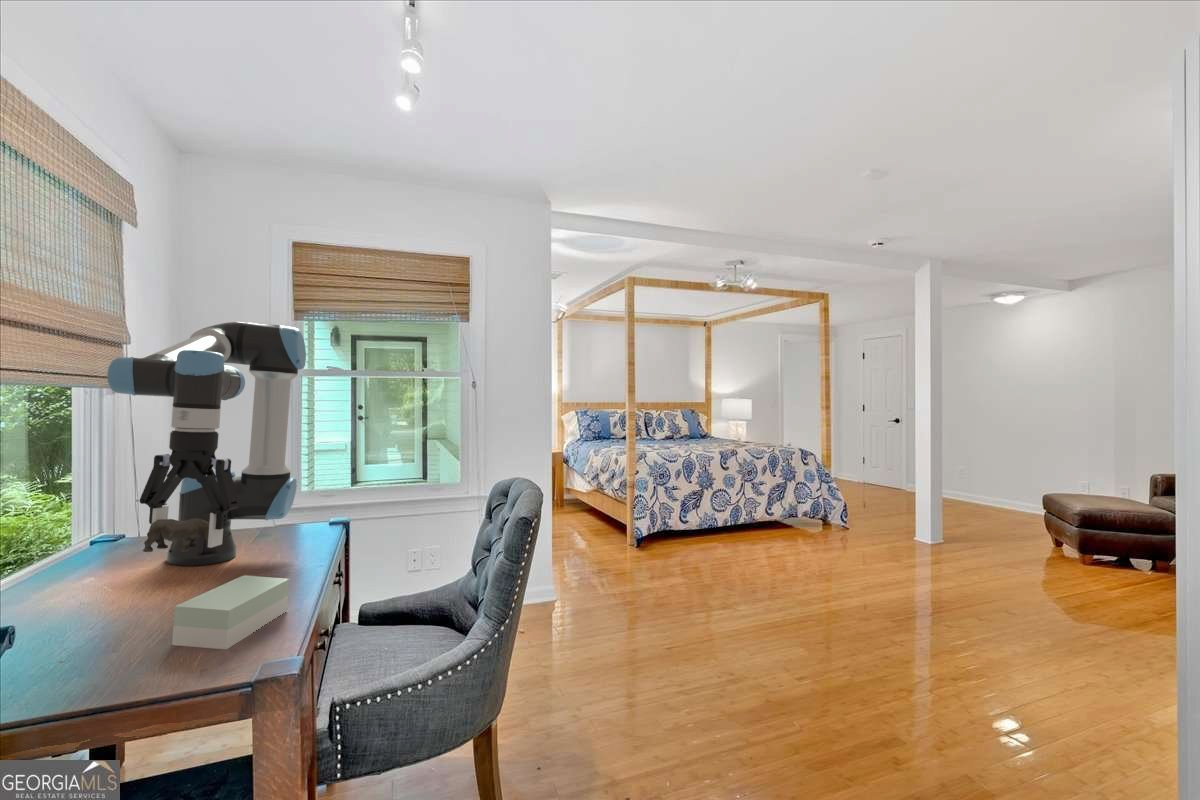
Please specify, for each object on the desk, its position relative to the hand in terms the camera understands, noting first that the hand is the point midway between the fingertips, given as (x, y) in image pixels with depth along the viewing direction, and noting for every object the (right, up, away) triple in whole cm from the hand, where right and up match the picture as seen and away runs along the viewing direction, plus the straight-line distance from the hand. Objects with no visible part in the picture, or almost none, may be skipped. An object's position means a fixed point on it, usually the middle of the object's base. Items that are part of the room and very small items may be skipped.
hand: (186, 543), depth 105 cm
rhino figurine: (0, -1, 0) cm, 1 cm away
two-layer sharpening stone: (+8, -17, +2) cm, 19 cm away
